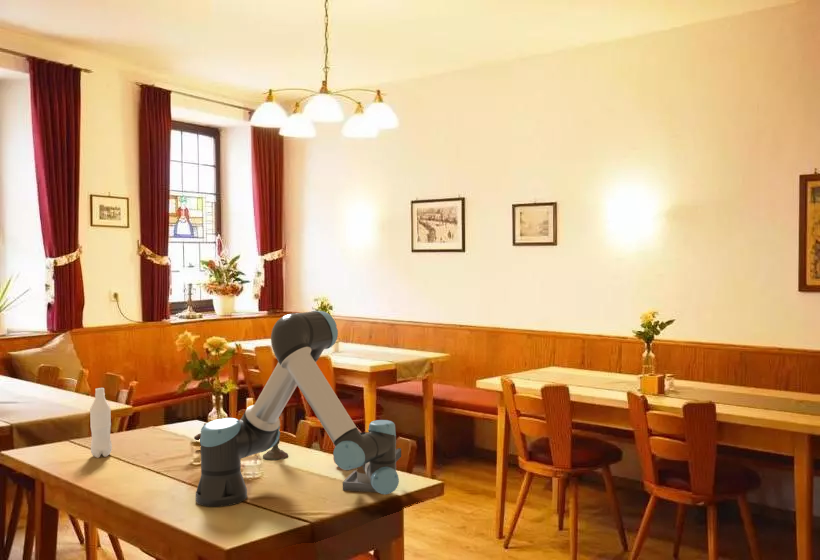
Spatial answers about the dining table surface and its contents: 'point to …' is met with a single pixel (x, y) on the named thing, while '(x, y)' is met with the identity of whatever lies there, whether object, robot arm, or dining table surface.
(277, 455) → the candlestick holder
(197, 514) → the dining table surface
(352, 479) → the tray
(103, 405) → the water bottle
